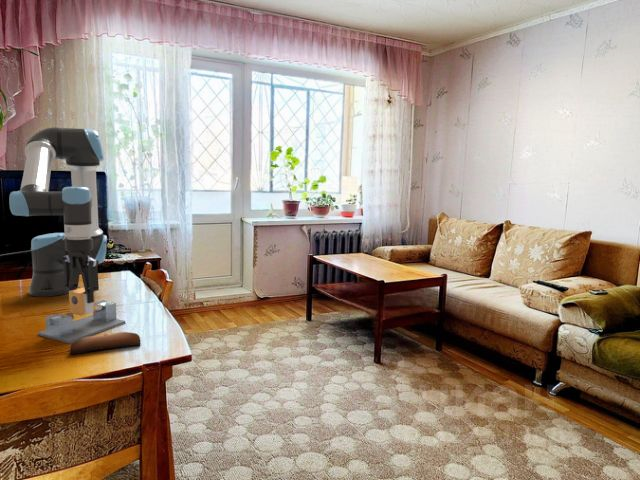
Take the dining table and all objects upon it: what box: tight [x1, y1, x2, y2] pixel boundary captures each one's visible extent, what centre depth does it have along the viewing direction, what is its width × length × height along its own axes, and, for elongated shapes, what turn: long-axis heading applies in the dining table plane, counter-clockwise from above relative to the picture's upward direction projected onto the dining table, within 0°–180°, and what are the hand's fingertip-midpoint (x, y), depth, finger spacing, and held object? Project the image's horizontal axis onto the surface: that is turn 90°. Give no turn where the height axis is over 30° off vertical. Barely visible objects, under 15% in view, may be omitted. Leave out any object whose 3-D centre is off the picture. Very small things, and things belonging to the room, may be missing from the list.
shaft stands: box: [45, 299, 118, 338], centre depth 142 cm, size 6×20×6 cm, turn 155°
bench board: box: [37, 314, 126, 345], centre depth 142 cm, size 14×20×1 cm
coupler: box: [68, 287, 96, 317], centre depth 141 cm, size 5×5×7 cm
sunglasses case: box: [69, 331, 142, 356], centre depth 129 cm, size 18×7×7 cm
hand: (82, 311), depth 142 cm, fingers closed on coupler, 5 cm apart
